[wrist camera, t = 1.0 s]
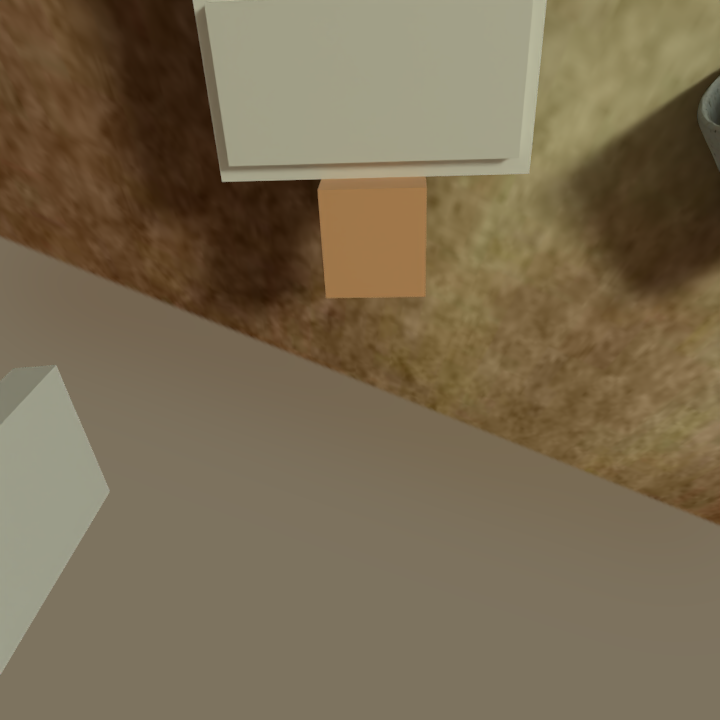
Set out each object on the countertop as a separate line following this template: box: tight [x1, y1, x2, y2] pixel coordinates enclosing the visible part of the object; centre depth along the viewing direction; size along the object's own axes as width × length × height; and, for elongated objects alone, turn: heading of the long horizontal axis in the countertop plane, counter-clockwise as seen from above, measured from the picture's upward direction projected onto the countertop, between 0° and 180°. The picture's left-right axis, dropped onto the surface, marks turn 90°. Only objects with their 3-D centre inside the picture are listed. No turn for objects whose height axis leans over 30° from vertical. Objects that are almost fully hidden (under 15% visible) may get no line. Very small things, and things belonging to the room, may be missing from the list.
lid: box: [193, 0, 547, 298], centre depth 20 cm, size 16×11×2 cm
